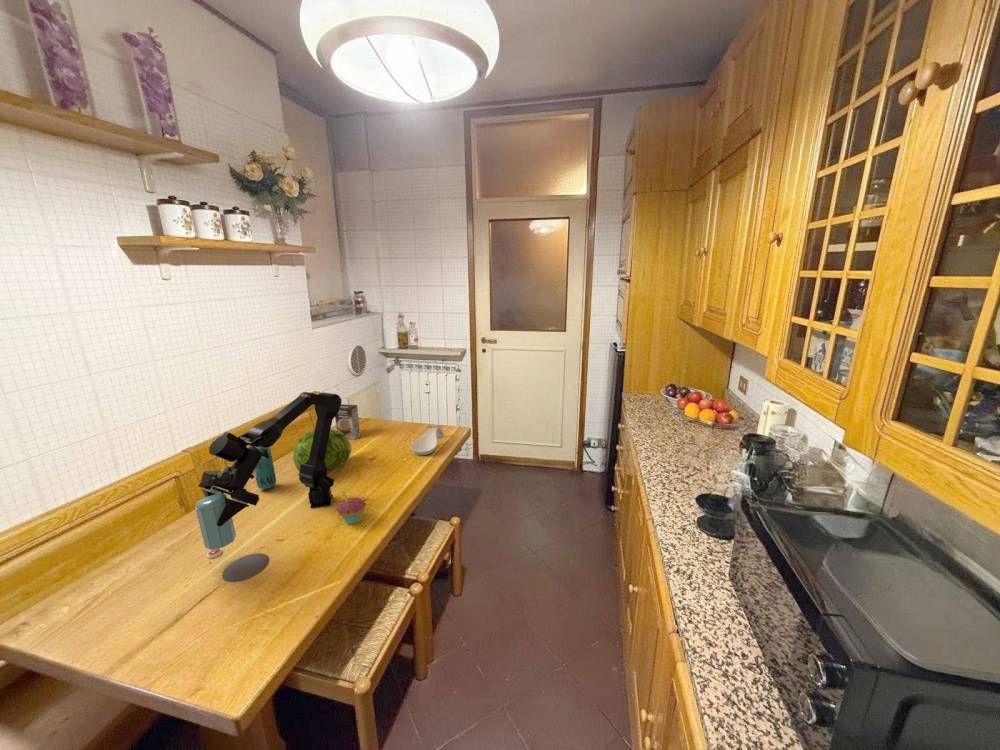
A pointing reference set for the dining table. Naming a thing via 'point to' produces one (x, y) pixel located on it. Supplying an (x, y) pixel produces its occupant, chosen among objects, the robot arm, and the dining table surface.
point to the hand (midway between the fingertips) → (210, 522)
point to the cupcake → (351, 509)
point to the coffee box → (348, 421)
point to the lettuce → (335, 450)
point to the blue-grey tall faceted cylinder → (214, 522)
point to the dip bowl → (214, 553)
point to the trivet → (245, 567)
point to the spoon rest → (427, 441)
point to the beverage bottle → (265, 471)
